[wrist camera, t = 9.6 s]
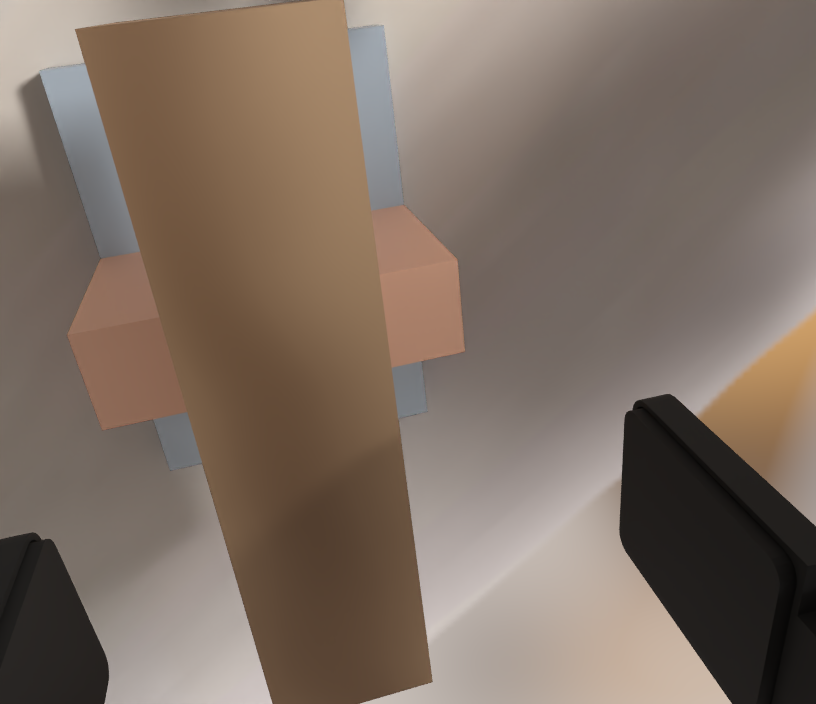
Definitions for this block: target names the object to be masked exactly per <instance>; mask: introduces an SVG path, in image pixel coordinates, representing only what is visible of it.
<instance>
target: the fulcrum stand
mask: <svg viewBox="0 0 816 704" xmlns="http://www.w3.org/2000/svg"><path fill="white" fill-rule="evenodd" d="M347 30H348V37H349V45H350V53H351V60H352V68H353V76H354V83H355V91H356V99H357V106H358V114H359V122H360V129H361V137H362V145H363V152H364V160H365V168H366V175H367V183H368V191H369V198H370V206H371V214H372V221H373V229H374V237H375V244H376V252H377V260H378V267H379V275H380V283H381V290H382V298H383V306H384V313H385V321H386V329H387V336H388V344H389V352H390V359H391V367H392V375H393V382H394V390H395V398H396V405H397V413H398V418H403V417H407V416H411V415H416V414H420V413H424V412H428V411H427V402H426V394H425V385H424V376H423V367H422V361H425V360H429V359H434V358H439V357H443V356H448V355H452V354H457V353H462V352H465V346H464V334H463V321H462V309H461V296H460V284H459V271H458V260H457V259H456V257H455V256H454V255H453V254H452V253H451V252H450V251H449V250H448V249H447V248H446V247H445V246H444V245H443V244H442V243H441V242H440V241H439V240H438V239H437V238H436V237H435V236H434V235H433V234H432V233H431V232H430V231H429V230H428V229H427V228H426V227H425V226H424V225H423V224H422V223H421V222H420V221H419V220H418V219H417V218H416V216H415V215H414V214H413V213H412V212H411V211H410V210H409V209H408V208H407V207H406V206H405V205H404V200H403V191H402V182H401V173H400V164H399V155H398V147H397V138H396V129H395V120H394V111H393V102H392V94H391V85H390V76H389V67H388V58H387V50H386V41H385V32H384V25H371V26H363V27H356V28H348V29H347ZM39 73H40V76H41V79H42V82H43V85H44V88H45V91H46V94H47V97H48V100H49V103H50V106H51V109H52V112H53V115H54V119H55V122H56V125H57V128H58V131H59V134H60V137H61V140H62V143H63V146H64V149H65V152H66V155H67V158H68V161H69V164H70V167H71V170H72V173H73V176H74V179H75V183H76V186H77V189H78V192H79V195H80V198H81V201H82V204H83V207H84V210H85V213H86V216H87V219H88V222H89V225H90V228H91V231H92V234H93V237H94V240H95V243H96V246H97V250H98V253H99V256H100V261H99V263H98V265H97V268H96V270H95V272H94V275H93V277H92V279H91V281H90V284H89V286H88V288H87V291H86V293H85V295H84V297H83V300H82V302H81V304H80V306H79V309H78V311H77V313H76V316H75V318H74V320H73V322H72V325H71V327H70V329H69V331H68V334H67V337H68V340H69V342H70V345H71V348H72V350H73V353H74V356H75V358H76V361H77V364H78V367H79V369H80V372H81V375H82V377H83V380H84V383H85V385H86V388H87V391H88V394H89V396H90V399H91V402H92V404H93V407H94V410H95V412H96V415H97V418H98V420H99V423H100V426H101V429H102V430H107V429H112V428H116V427H121V426H125V425H130V424H135V423H139V422H144V421H148V420H154V423H155V426H156V429H157V432H158V435H159V438H160V442H161V445H162V448H163V451H164V454H165V457H166V460H167V463H168V466H169V469H170V471H172V470H176V469H181V468H185V467H189V466H194V465H198V464H202V461H201V457H200V454H199V451H198V447H197V444H196V440H195V437H194V434H193V430H192V427H191V423H190V420H189V416H188V413H187V410H186V406H185V403H184V399H183V396H182V393H181V389H180V386H179V382H178V379H177V376H176V372H175V369H174V365H173V362H172V358H171V355H170V352H169V348H168V345H167V341H166V338H165V335H164V331H163V328H162V324H161V321H160V317H159V314H158V311H157V307H156V304H155V300H154V297H153V294H152V290H151V287H150V283H149V280H148V277H147V273H146V270H145V266H144V263H143V259H142V256H141V253H140V249H139V246H138V242H137V239H136V236H135V232H134V229H133V225H132V222H131V219H130V215H129V212H128V208H127V205H126V201H125V198H124V195H123V191H122V188H121V184H120V181H119V178H118V174H117V171H116V167H115V164H114V161H113V157H112V154H111V150H110V147H109V143H108V140H107V137H106V133H105V130H104V126H103V123H102V120H101V116H100V113H99V109H98V106H97V103H96V99H95V96H94V92H93V89H92V85H91V82H90V79H89V75H88V72H87V68H86V65H85V63H84V64H76V65H68V66H61V67H53V68H46V69H43V70H41V71H39Z"/></svg>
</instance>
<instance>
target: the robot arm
mask: <svg viewBox="0 0 816 704" xmlns="http://www.w3.org/2000/svg"><path fill="white" fill-rule="evenodd" d="M619 530H620V538H621V541H622V545H623V547H624V549H625V551H626V553H627V554H628V555H629V557H630V558H631V560H632V561H633V563H634V564H635V566H636V567H637V568H638V570H639V571H640V573H641V574H642V575H643V577H644V578H645V580H646V581H647V583H648V584H649V585H650V587H651V588H652V590H653V591H654V593H655V594H656V596H657V597H658V598H659V600H660V601H661V603H662V604H663V606H664V607H665V608H666V610H667V611H668V613H669V614H670V615H671V617H672V618H673V620H674V621H675V623H676V624H677V626H678V627H679V628H680V630H681V631H682V633H683V634H684V636H685V637H686V638H687V640H688V641H689V643H690V644H691V646H692V647H693V649H694V650H695V651H696V653H697V654H698V656H699V657H700V658H701V660H702V661H703V663H704V664H705V666H706V667H707V669H708V670H709V671H710V673H711V674H712V676H713V677H714V678H715V680H716V681H717V683H718V684H719V686H720V687H721V689H722V690H723V691H724V693H725V694H726V695H727V697H728V699H729V700H730V701H731V703H732V704H816V526H815V525H814V524H812V523H811V522H810V521H809V520H808V519H807V518H806V517H805V516H804V515H803V514H802V513H800V512H799V511H798V510H797V509H796V508H795V507H794V506H793V505H792V504H791V503H790V502H789V501H787V500H786V499H785V498H784V497H783V496H782V495H781V494H780V493H779V492H778V491H777V490H776V489H774V488H773V487H772V486H771V485H770V484H769V483H768V482H767V481H766V480H765V479H764V478H762V477H761V476H760V475H759V474H758V473H757V472H756V471H755V470H754V469H753V468H752V467H750V466H749V465H748V464H747V463H746V462H745V461H744V460H743V459H742V458H741V457H739V456H738V455H737V454H736V453H735V452H734V451H733V450H732V449H731V448H730V447H729V446H728V445H726V444H725V443H724V442H723V441H722V440H721V439H720V438H719V437H718V436H717V435H715V434H714V433H713V432H712V431H711V430H710V429H709V428H708V427H707V426H705V424H704V423H702V422H701V421H700V420H699V419H698V418H697V417H696V416H695V415H694V414H693V413H692V412H691V411H689V410H688V409H687V408H686V407H685V406H684V405H683V404H682V403H681V402H680V401H679V400H677V399H676V398H675V397H674V396H672V395H670V394H665V395H661V396H656V397H651V398H647V399H642V400H638V401H636V402H635V404H634V406H633V410H632V411H628V412H627V413H626V415H625V422H624V443H623V464H622V485H621V508H620V529H619ZM108 680H109V668H108V662H107V658H106V655H105V653H104V651H103V648H102V646H101V644H100V642H99V640H98V638H97V635H96V633H95V631H94V629H93V627H92V624H91V622H90V620H89V618H88V616H87V613H86V611H85V609H84V607H83V605H82V603H81V600H80V598H79V596H78V594H77V592H76V589H75V587H74V585H73V583H72V581H71V578H70V576H69V574H68V572H67V570H66V567H65V565H64V563H63V561H62V559H61V557H60V554H59V552H58V550H57V548H56V546H55V544H54V542H53V541H52V540H51V539H45V540H41V538H40V537H39V536H38V535H37V534H36V533H28V534H23V535H18V536H14V537H9V538H5V539H0V704H104V703H105V697H106V692H107V687H108Z"/></svg>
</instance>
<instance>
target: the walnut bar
mask: <svg viewBox="0 0 816 704" xmlns="http://www.w3.org/2000/svg"><path fill="white" fill-rule="evenodd" d="M75 31H76V34H77V38H78V41H79V45H80V48H81V51H82V55H83V58H84V62H85V65H86V68H87V72H88V75H89V79H90V82H91V85H92V89H93V92H94V96H95V99H96V103H97V106H98V109H99V113H100V116H101V120H102V123H103V126H104V130H105V133H106V137H107V140H108V143H109V147H110V150H111V154H112V157H113V161H114V164H115V167H116V171H117V174H118V178H119V181H120V184H121V188H122V191H123V195H124V198H125V201H126V205H127V208H128V212H129V215H130V219H131V222H132V225H133V229H134V232H135V236H136V239H137V242H138V246H139V249H140V253H141V256H142V259H143V263H144V266H145V270H146V273H147V277H148V280H149V283H150V287H151V290H152V294H153V297H154V300H155V304H156V307H157V311H158V314H159V317H160V321H161V324H162V328H163V331H164V335H165V338H166V341H167V345H168V348H169V352H170V355H171V358H172V362H173V365H174V369H175V372H176V376H177V379H178V382H179V386H180V389H181V393H182V396H183V399H184V403H185V406H186V410H187V413H188V416H189V420H190V423H191V427H192V430H193V434H194V437H195V440H196V444H197V447H198V451H199V454H200V457H201V461H202V464H203V468H204V471H205V474H206V478H207V481H208V485H209V488H210V492H211V495H212V498H213V502H214V505H215V509H216V512H217V515H218V519H219V522H220V526H221V529H222V532H223V536H224V539H225V543H226V546H227V550H228V553H229V556H230V560H231V563H232V567H233V570H234V573H235V577H236V580H237V584H238V587H239V590H240V594H241V597H242V601H243V604H244V608H245V611H246V614H247V618H248V621H249V625H250V628H251V631H252V635H253V638H254V642H255V645H256V649H257V652H258V655H259V659H260V662H261V666H262V669H263V672H264V676H265V679H266V683H267V686H268V689H269V693H270V696H271V700H272V703H273V704H360V703H363V702H366V701H370V700H373V699H376V698H380V697H383V696H387V695H390V694H394V693H396V692H400V691H404V690H407V689H411V688H414V687H417V686H421V685H424V684H428V683H431V682H432V674H431V666H430V659H429V651H428V643H427V635H426V628H425V620H424V612H423V605H422V597H421V589H420V582H419V574H418V566H417V559H416V551H415V543H414V536H413V528H412V520H411V513H410V505H409V497H408V490H407V482H406V474H405V467H404V459H403V451H402V444H401V436H400V428H399V421H398V413H397V405H396V398H395V390H394V382H393V375H392V367H391V359H390V352H389V344H388V336H387V329H386V321H385V313H384V306H383V298H382V290H381V283H380V275H379V267H378V260H377V252H376V244H375V237H374V229H373V221H372V214H371V206H370V198H369V191H368V183H367V175H366V168H365V160H364V152H363V145H362V137H361V129H360V122H359V114H358V106H357V99H356V91H355V83H354V76H353V68H352V60H351V53H350V45H349V37H348V30H347V22H346V14H345V7H344V0H303V1H295V2H286V3H278V4H269V5H261V6H252V7H244V8H235V9H227V10H218V11H210V12H201V13H193V14H184V15H176V16H167V17H159V18H150V19H142V20H133V21H125V22H116V23H110V24H104V25H98V26H92V27H86V28H80V29H75Z"/></svg>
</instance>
